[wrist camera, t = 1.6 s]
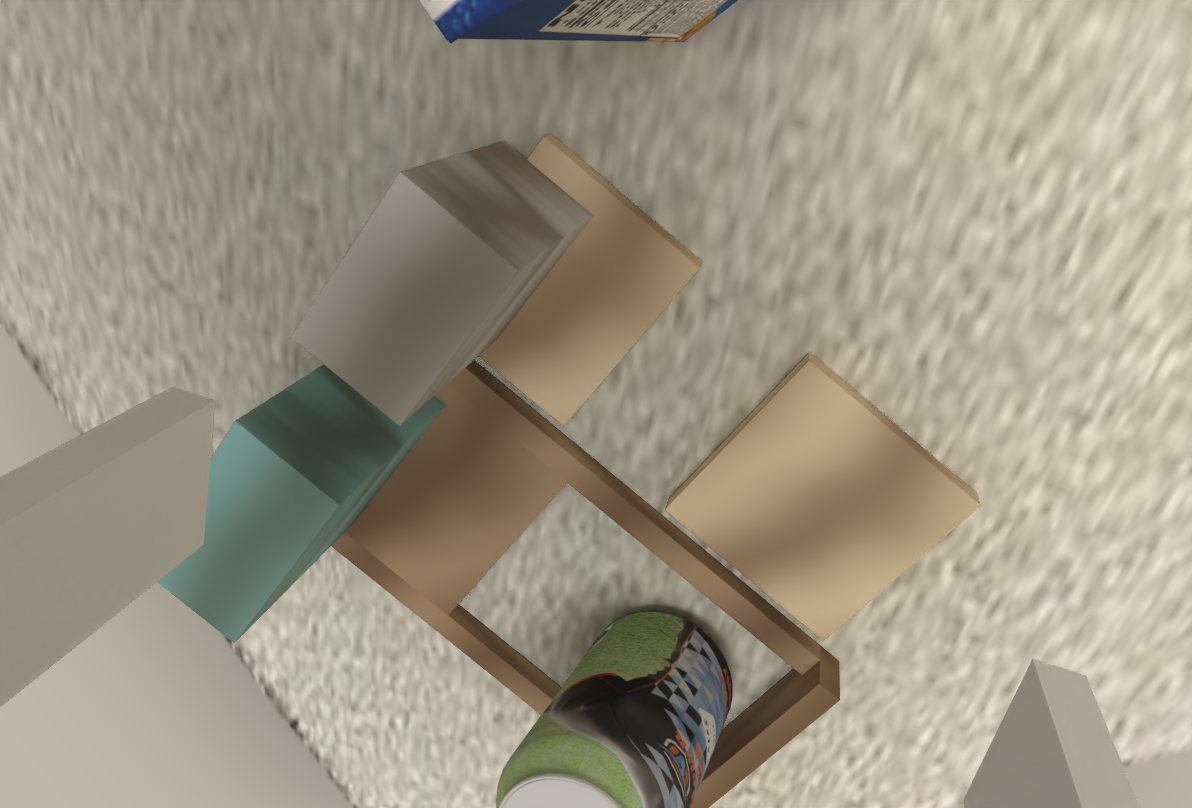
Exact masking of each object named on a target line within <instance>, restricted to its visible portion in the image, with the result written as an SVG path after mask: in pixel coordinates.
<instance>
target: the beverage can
mask: <svg viewBox="0 0 1192 808" xmlns="http://www.w3.org/2000/svg"><path fill="white" fill-rule="evenodd" d="M731 701H732V680H731V675H730V671H729V668H728V666H727V663H726V660H725V659H724V657H723V655H722V653H721V652H720V650H719V648H718V647H717V646H716V645H715V644H714V642H713V641H712V640H711V639H710V638H709V637H708V636H707V635H706V634H705V633H704V632H703V631H702V630H700V629H699V628H697V627H696V626H694V625H693V624H691V623H690V622H688V621H686V620H684V619H681V618H679V617H677V616H674V615H670V614H667V613H661V612H652V611H651V612H638V613H634V614H630V615H627V616H624V617H622V618H620V619H618V620H616V621H615V622H613V623H612V624H611V625H609V626H608V627H607V628H606V629H605V630H604V631H603V632H602V633H601V634H600V636H599V637H598V638H597V640H596V641H595V643H594V644H593V645H592V647H591V648H590V649H589V651H588V652H587V654H586V655H585V656H584V658H583V659H582V660H581V662H580V663H579V664H578V666H577V667H576V669H575V670H574V671H573V673H572V674H571V675H570V677H569V678H568V679H567V681H566V682H565V684H564V685H563V686H562V688H561V689H560V690H559V692H558V693H557V695H556V696H555V697H554V699H553V700H552V701H551V703H550V704H549V705H548V707H547V708H546V710H545V711H544V712H543V714H542V715H541V716H540V718H539V719H538V721H537V722H536V723H535V725H534V726H533V727H532V729H531V730H530V731H529V733H528V734H527V736H526V737H525V738H524V740H523V741H522V742H521V744H520V745H519V746H518V748H517V749H516V751H515V752H514V753H513V755H512V756H511V757H510V759H509V761H508V762H507V764H506V766H505V768H504V769H503V772H502V774H501V777H500V780H499V783H498V789H497V797H496V808H691V806H692V804H693V801H694V799H695V796H696V794H697V791H698V789H699V786H700V783H701V781H702V778H703V776H704V773H705V771H706V768H707V766H708V763H709V761H710V758H711V756H712V753H713V750H714V748H715V745H716V743H717V740H718V738H719V735H720V733H721V730H722V728H723V725H724V723H725V720H726V718H727V715H728V712H729V710H730V706H731Z"/></svg>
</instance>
